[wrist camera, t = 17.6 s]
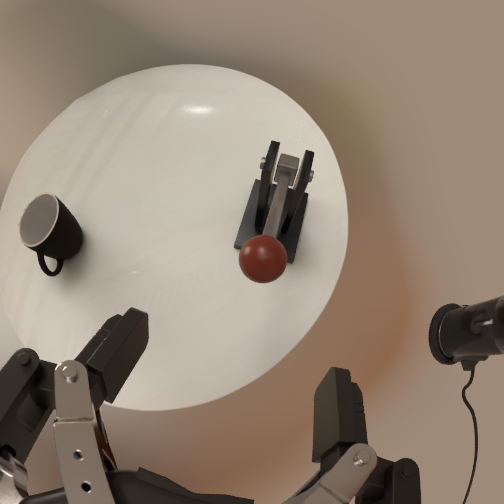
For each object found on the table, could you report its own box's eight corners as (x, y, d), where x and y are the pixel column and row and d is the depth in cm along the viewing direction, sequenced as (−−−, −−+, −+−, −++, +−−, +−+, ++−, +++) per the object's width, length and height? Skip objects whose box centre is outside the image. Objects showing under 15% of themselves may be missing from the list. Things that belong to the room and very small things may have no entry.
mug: (53, 223, 41) (23, 199, 32) (90, 214, 42) (62, 186, 33) (49, 285, 38) (13, 270, 28) (87, 280, 39) (53, 263, 29)
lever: (276, 297, 21) (289, 268, 18) (231, 285, 21) (236, 253, 18) (299, 180, 32) (307, 155, 30) (270, 172, 32) (276, 147, 30)
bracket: (291, 263, 41) (321, 219, 26) (234, 247, 42) (232, 194, 27) (306, 197, 45) (334, 135, 30) (255, 183, 45) (262, 115, 30)
